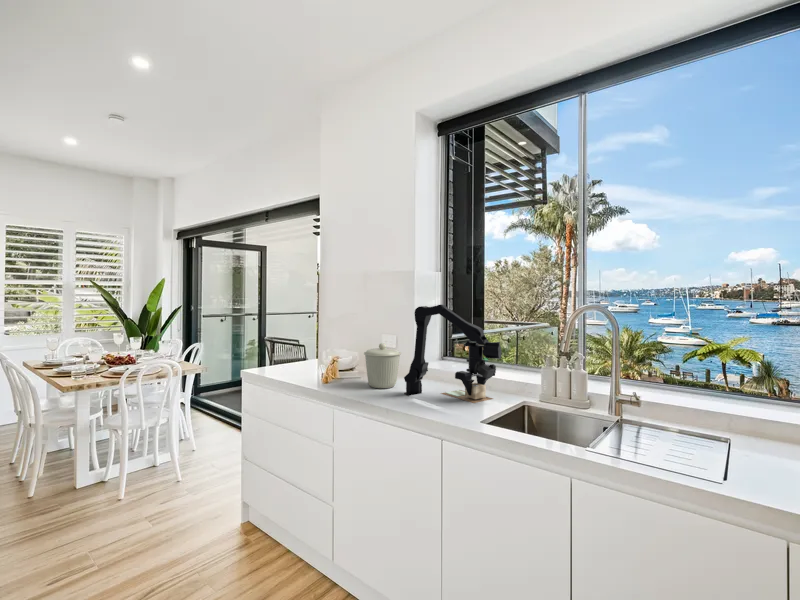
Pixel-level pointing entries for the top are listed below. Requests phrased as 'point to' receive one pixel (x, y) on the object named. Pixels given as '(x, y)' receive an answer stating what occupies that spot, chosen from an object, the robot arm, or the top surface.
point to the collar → (477, 391)
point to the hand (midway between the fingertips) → (475, 394)
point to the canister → (382, 366)
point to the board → (461, 395)
